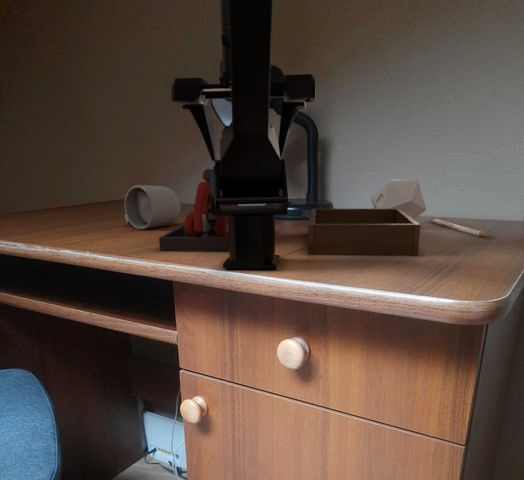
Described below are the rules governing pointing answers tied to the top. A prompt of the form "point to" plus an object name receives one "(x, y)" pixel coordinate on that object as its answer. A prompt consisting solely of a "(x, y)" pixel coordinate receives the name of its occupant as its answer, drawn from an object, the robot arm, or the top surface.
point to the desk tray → (192, 242)
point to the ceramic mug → (151, 206)
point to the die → (400, 197)
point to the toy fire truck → (205, 213)
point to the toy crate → (362, 232)
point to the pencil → (458, 227)
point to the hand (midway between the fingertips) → (246, 160)
